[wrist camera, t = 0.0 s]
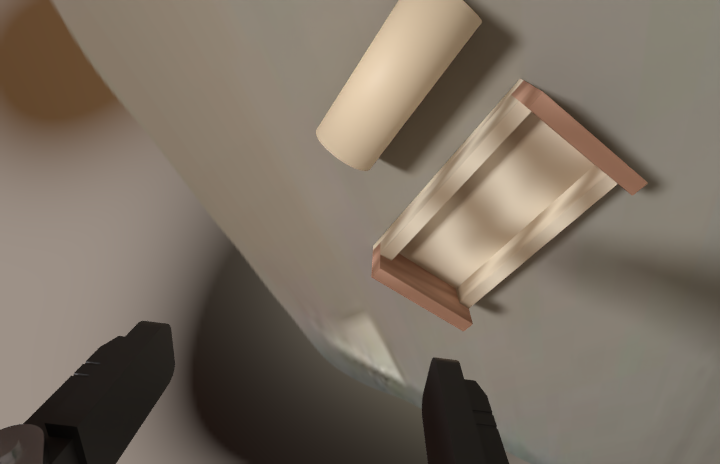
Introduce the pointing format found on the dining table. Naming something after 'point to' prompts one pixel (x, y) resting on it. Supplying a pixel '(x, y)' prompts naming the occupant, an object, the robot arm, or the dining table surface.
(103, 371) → the robot arm
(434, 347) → the dining table surface
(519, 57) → the dining table surface
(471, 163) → the roll holder
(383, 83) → the paper roll
